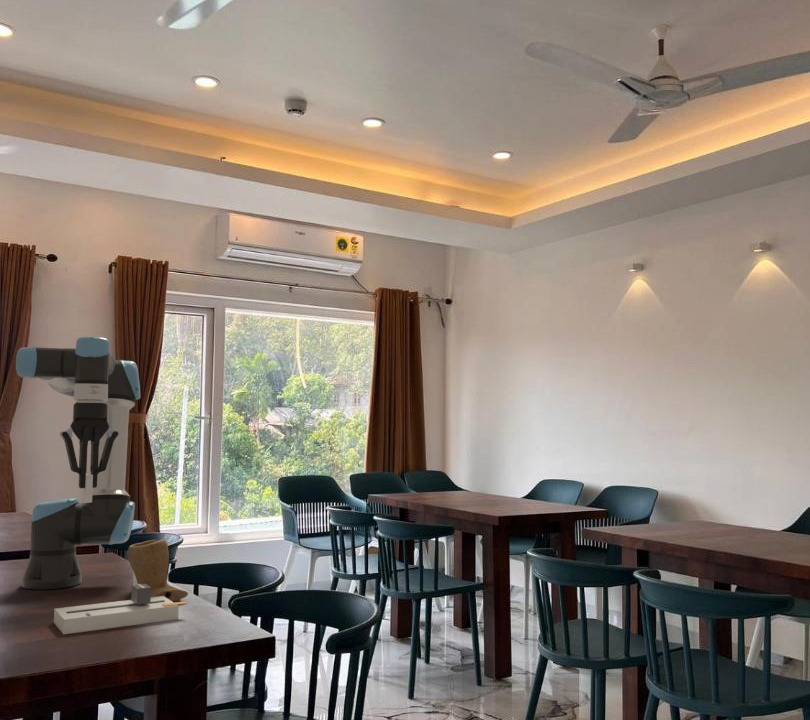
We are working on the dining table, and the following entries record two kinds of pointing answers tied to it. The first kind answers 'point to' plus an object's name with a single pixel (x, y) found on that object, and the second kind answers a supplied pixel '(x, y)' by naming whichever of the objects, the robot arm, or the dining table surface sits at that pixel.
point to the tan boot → (153, 568)
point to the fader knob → (141, 594)
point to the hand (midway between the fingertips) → (87, 502)
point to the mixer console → (114, 614)
